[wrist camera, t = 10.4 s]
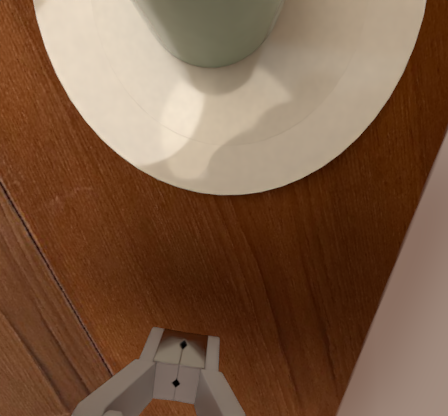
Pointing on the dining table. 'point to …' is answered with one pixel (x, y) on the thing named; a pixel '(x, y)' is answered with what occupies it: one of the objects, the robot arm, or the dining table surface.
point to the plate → (232, 89)
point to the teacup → (210, 27)
